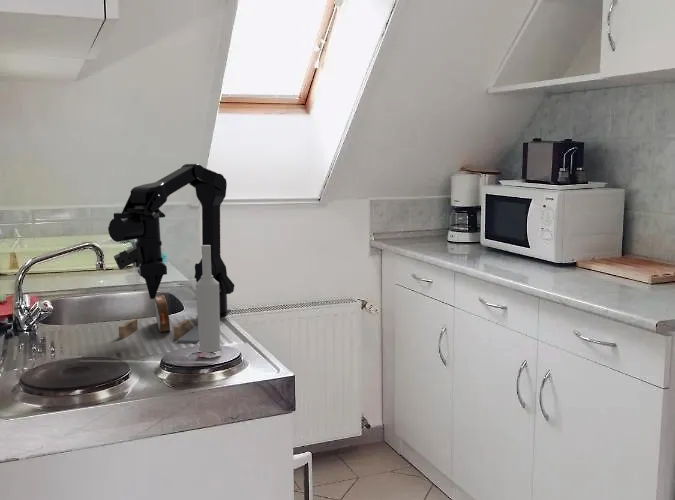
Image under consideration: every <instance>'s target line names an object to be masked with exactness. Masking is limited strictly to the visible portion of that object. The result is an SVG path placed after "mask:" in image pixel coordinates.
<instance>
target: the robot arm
mask: <svg viewBox="0 0 675 500" xmlns="http://www.w3.org/2000/svg"><path fill="white" fill-rule="evenodd" d="M187 185H190V186H191V187H193V188H194V189H195V196H196V198H197V199H198V201H199V203H200V205H201V230H202V231H201V235H202V236H201V240H202V245H211V274H212V275H213V278H214V279H215V280H216V281H218V282H219V307H220V316H221V317H224V316H225V317H226V316H227V315H228V314H230V313H231V312H232V309H228V295H231V294H232V293H234V289H235V284H234V282H232V280H231V279H230V277H229V276H228V273H227V271H228V270H227V266H226V264H225V262H224V261H223V259H222V257H221V256H222V255H221V206H222V203H223V201H224V199H225V198H226V196H227V185H228V183H227V179H226V178H225V177H224V175H223V174H221V173H218V172H215V171H213V170H210V169H209V168H205V167H204V166H203V165H201V164H199V163H185V164H183V165H182V166H181V167H180V168H178V169H175V170H174V171H173V172H170V173H169V174H167V175H165V176H163V177H162V178H161V179H158V180H157V181H155V182H150V183H144V184H141V185H137V186H135V187H133V188H132V189H131V190H130V195H129V197H128V199H127V201H126V203H125V204H124V207H123V208H122V212H114V213H113V218H112V219H111V220H110V222H109V224H108V227H107V231H108V234H109V237H110V238H111V240H112V241H114V242H116V243H121V242H125V241H127V242H128V241H133V240H136V241H135V243H134V246H135V247H132V248H130V249H127V250H126V249H124V250H123V251H119V253H117V254H115V255H114V256H113V258H114V261H115V263H116V266H117V267H118V269H119V270H123V269H125V268H126V267H127V266H130V265H133V264H134V265H135V268H138V270H137V273H138V275H139V276H140V277H141V278H143V279H144V281H145V285H146V289H147V292H148V296H149V299H150V300H154V298H155V296H157V292H158V289H159V287H160V285H161V283H162V279H163V277H164V276H166V275H168V269H167V265H166V264H165V263H164V261H163V257H162V245H163V242H162V240H161V228H160V227H161V226H160V225H161V224H160V219H162V218H163V219H164V218H166V214H165V213H164V212H163V211H161V210H160V209H161V207H162V206H163V205H165V203H167V200H168V197H169V196H171V195H172V194H174V193H175V192H177V191H179V190H180V189H182V188H184V187H185V186H187ZM202 245H201V246H202ZM202 275H203V272H202V258H201V259H200V260H199V262H198V263H195V264H194V279H195V283H197V282H198V281H199V280H200V279H201V276H202Z"/></svg>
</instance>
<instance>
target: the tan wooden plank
mask: <svg viewBox="0 0 675 500" xmlns="http://www.w3.org/2000/svg"><path fill="white" fill-rule="evenodd" d="M138 330H139V326H138V318H132V319H130V320H129V321H126V322H124V323H122V324H121V325H119V326H118V336H119V337H118V339H125V338H127V337H129V336H130V335H132V334H133V333H135V332H137V331H138ZM190 330H191V319H190V318H186V319H183V320H182V321H181V322H179V323H178V324H176V325H175V326H174V327H173V339H174V340H178V339H180V338H181V337H182V336H184V335H185V334H186V333H188V332H189V331H190Z"/></svg>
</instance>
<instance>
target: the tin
mask: <svg viewBox="0 0 675 500" xmlns="http://www.w3.org/2000/svg"><path fill="white" fill-rule="evenodd" d="M153 302H154V305H155V319H156V323H157V324H158V325H157V328H158V330H159V333H166V332H167V333H168V332H171V323H170V315H169V308H168V307H169V306H168V302H167V299H166V297H165V295H164V294H162V295H156V296H155V298H154V299H153Z"/></svg>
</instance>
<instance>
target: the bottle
mask: <svg viewBox="0 0 675 500" xmlns="http://www.w3.org/2000/svg"><path fill="white" fill-rule="evenodd" d="M200 249H201V250H200V251H201V259H202V272H203V275H202V276H201V279H200V280H199V281H198V282H195V292H196V295H195V296H196V309H197V311H196V312H197V325H198V330H199V342H198V344H199V347H198V348H197V349H198V350H199V351H202V352H217V351H221V352H222V346H221V327H220V326H221V325H220V324H221V323H220V322H221V317H220V307H219V282H218V281H216V280H215V279H214V278H213V275H212V274H211V245H200ZM199 351H198V352H199Z"/></svg>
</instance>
